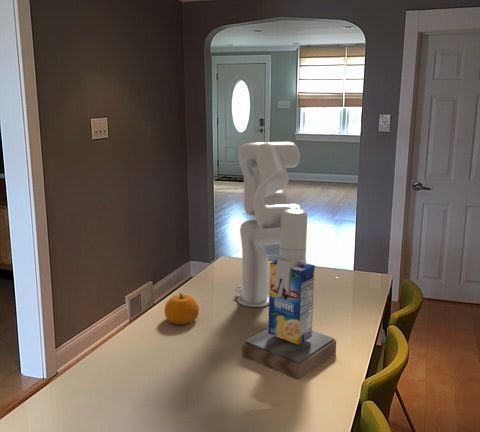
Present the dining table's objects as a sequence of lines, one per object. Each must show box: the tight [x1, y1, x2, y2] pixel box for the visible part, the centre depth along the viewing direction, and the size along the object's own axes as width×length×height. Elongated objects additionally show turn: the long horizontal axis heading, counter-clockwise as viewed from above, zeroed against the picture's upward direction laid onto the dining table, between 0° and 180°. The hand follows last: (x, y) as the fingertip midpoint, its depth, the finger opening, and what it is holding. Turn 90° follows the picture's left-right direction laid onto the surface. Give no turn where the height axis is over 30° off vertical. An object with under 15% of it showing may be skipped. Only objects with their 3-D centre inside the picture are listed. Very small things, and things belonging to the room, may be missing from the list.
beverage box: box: [267, 259, 316, 345], centre depth 150 cm, size 7×11×22 cm, turn 50°
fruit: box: [164, 292, 200, 325], centre depth 176 cm, size 12×12×10 cm
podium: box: [241, 328, 337, 381], centre depth 153 cm, size 20×20×5 cm
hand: (290, 312), depth 151 cm, fingers closed on beverage box
